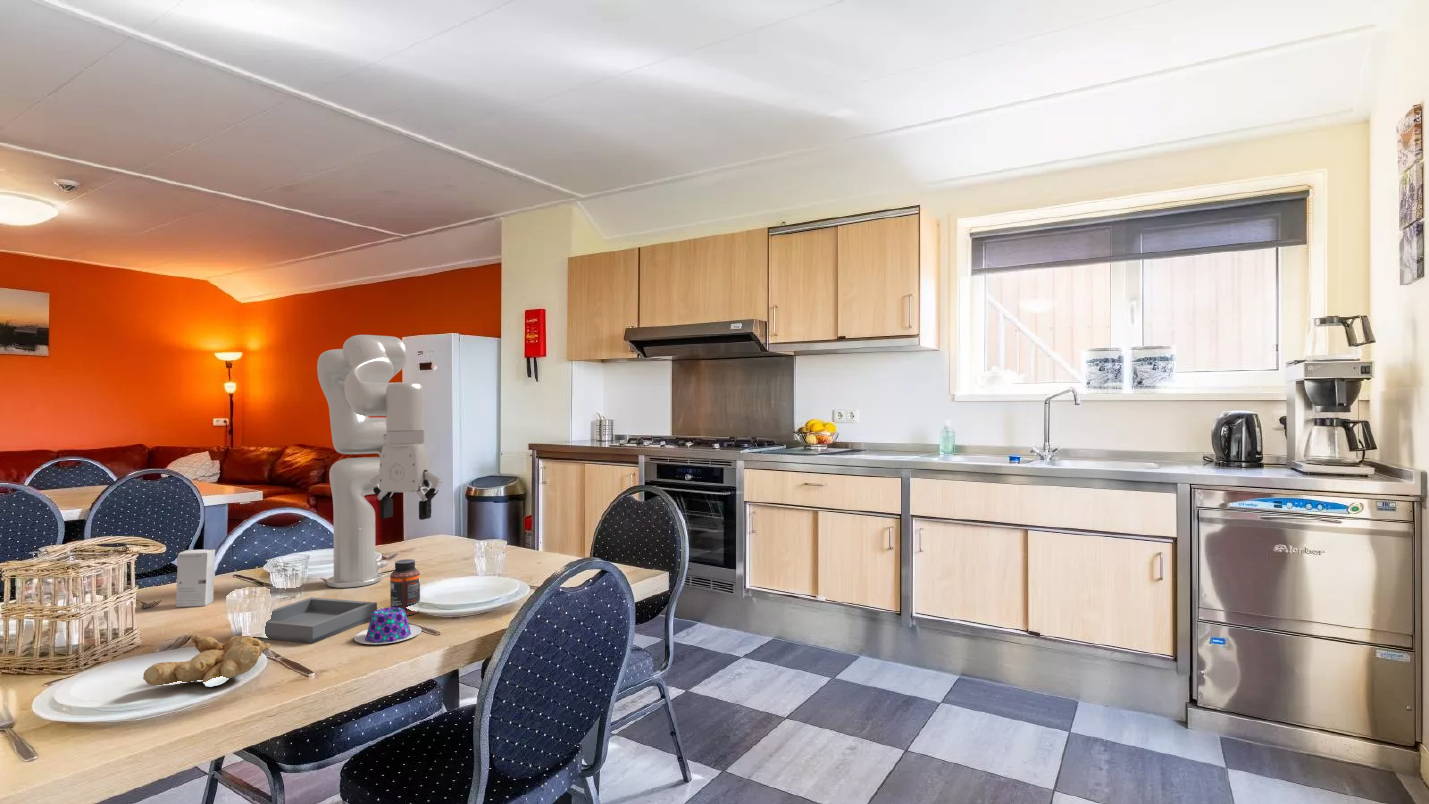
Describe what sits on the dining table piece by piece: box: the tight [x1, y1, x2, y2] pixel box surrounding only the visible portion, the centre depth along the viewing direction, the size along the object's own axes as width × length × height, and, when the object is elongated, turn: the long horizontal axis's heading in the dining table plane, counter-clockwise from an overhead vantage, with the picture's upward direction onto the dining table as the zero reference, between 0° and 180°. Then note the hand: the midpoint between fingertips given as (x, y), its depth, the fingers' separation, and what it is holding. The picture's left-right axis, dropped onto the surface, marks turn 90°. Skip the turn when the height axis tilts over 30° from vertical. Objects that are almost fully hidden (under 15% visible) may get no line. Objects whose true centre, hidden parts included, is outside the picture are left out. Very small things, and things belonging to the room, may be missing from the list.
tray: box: [265, 596, 378, 644], centre depth 146 cm, size 17×17×3 cm
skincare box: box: [175, 549, 216, 608], centre depth 162 cm, size 6×4×12 cm
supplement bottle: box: [389, 558, 421, 616], centre depth 155 cm, size 6×6×11 cm
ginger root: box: [142, 634, 272, 687], centre depth 119 cm, size 16×16×8 cm
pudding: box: [353, 606, 422, 645], centre depth 140 cm, size 12×12×5 cm
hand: (405, 518), depth 155 cm, fingers open, 9 cm apart
